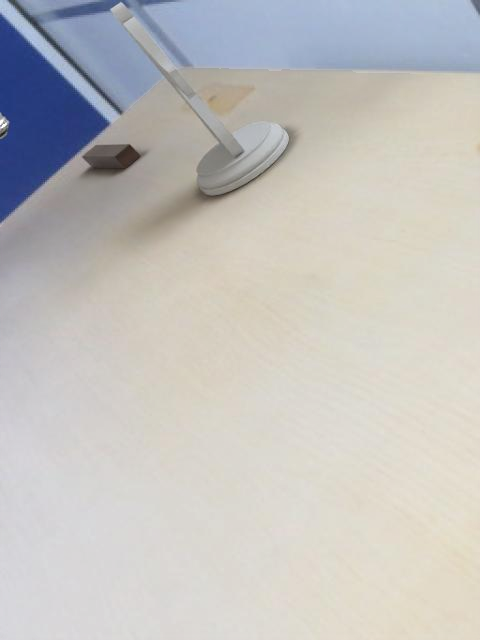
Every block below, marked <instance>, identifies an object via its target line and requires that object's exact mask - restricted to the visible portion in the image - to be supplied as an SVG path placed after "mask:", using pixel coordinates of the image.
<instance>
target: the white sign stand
mask: <svg viewBox="0 0 480 640" xmlns="http://www.w3.org/2000/svg"><path fill="white" fill-rule="evenodd" d="M109 10H110V11H111V13H112V14H113V16H114V18H115V19H116V20H117V21H118V23H120V25H121V26H122V27H123V28H124V29H125V31H126V32H127V34H128V35H129V36H130V37H131V39H133V41H134V42H135V43H136V45H137V46H138V47H139V48H140V50H142V52H143V53H144V54H145V56H147V58H148V59H149V60H150V61H151V63H152V64H153V65H154V66H155V68H156V69H157V70H158V71H159V72H160V73H161V75H162V76H163V77H164V79H166V80H167V82H168V83H169V84H170V85H171V87H172V88H173V89H174V90H175V91H176V92H177V94H178V95H179V96H180V97H181V98H182V100H183V101H184V102H185V104H187V105H188V107H189V109H191V110H192V112H193V113H194V114H195V115H196V117H197V118H198V119H199V120H200V122H201V123H202V124H203V126H205V128H206V129H207V130H208V132H210V133H211V135H212V136H213V137H214V138H215V140H216V141H217V143H216V144H215V145H213V147H211V148H210V149H209V150H208V151H207V152H206V153H205V155H204V156H202V158H201V159H200V160H199V162H198V164H197V166H196V170H195V171H196V174H197V175H196V183H197V185H198V186H199V188H200V190H201V191H202V192H203V193H204V194H205V195H207V196H220V195H224V194H227V193H229V192H232V191H234V190H236V189H238V188H240V187H242V186H244V185H246V184H247V183H250V182H251V181H252V180H254V179H256V178H257V177H258V176H259V175H261V174H262V173H264V172H265V171H266V170H267V169H268V168H270V167H271V166H272V165H273V164H274V163H275V162H276V161H277V160H278V159H279V158H280V157H281V155H282V154H283V153H284V152H285V150H286V149H287V147H288V145H289V141H290V137H289V134H288V133H287V131H286V130H285V129H284V128H282V126H281V125H279V124H277V123H271V122H270V121H268V120H259V121H255V122H252V123H249V124H247V125H244V126H243V127H240V128H238V129H237V130H235V131H232V132H230V130H229V129H228V128H227V127H226V125H225V124H224V123H223V122H222V120H221V119H220V118H219V117H218V116H217V115H216V113H215V112H214V111H213V110H212V109H211V108H210V107H209V106H208V104H207V103H206V102H205V101H204V99H203V98H202V97H201V96H200V94H198V92H196V90H195V89H194V87H192V86H191V84H190V83H189V82H188V81H187V80H186V78H185V77H184V76H183V75H182V74H181V72H180V71H179V70H178V68H177V67H176V66H175V64H174V63H173V62H172V61H171V60H170V58H169V57H168V56H167V55H166V53H165V52H164V50H162V48H161V47H160V46H159V44H158V43H157V42H156V40H155V39H154V38H153V37H152V35H151V34H150V33H149V32H148V30H147V29H146V28H145V27H144V26H143V24H141V22H140V21H139V20H138V19H137V18H136V16H134V14H132V12H131V10H129V8H127V6H126V5H125V4H124V3H123V2H122V1H120V2H118V3H117V4H116V5H114V6H113V7H111V8H110V9H109Z"/></svg>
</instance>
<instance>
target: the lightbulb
mask: <svg viewBox="0 0 480 640" xmlns="http://www.w3.org/2000/svg"><path fill="white" fill-rule="evenodd" d="M9 125H10V121H9V120H8V119H7V118H6V116H3V115H2V112H0V140H1V139H3V138H4V137H6V136H7V135H8V131H9Z"/></svg>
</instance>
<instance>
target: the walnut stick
mask: <svg viewBox="0 0 480 640" xmlns="http://www.w3.org/2000/svg"><path fill="white" fill-rule="evenodd" d="M140 157H141V154H140V153H139V152H138V151H137V150H136V149H135V148H134V147H133V146H132V145H131V143H122V144H121V143H117V144H115V143H113V144H95V145H93V146H92V148H90V149H89V150H88V151H87V152H85V153H84V154H83V155H82V156H81V158H82V159H83V160H84V161H85V162H86V163H87V164H88V165H89V166H90V167H91V168H93V169H94V168H95V169H96V168H97V169H103V168H104V169H127V168H128V167H129V166H131V165H132V164H133V163H134V162H135V161H137V160H138V159H139V158H140Z"/></svg>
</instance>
